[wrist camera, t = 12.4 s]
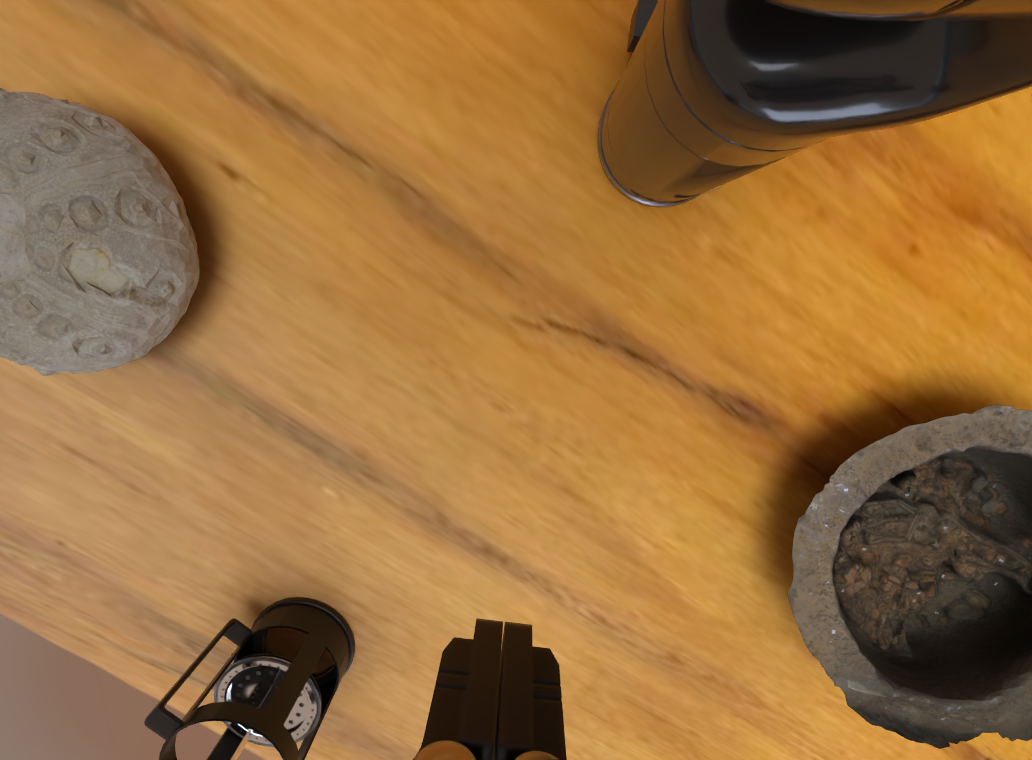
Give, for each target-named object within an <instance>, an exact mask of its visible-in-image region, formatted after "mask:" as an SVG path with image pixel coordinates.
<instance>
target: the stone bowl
mask: <svg viewBox="0 0 1032 760" xmlns="http://www.w3.org/2000/svg"><path fill="white" fill-rule="evenodd" d="M792 560H793V565H794V574H793V582H792V585H791V587H790V589H789V591H788V593H787V595H788V598H789V602H790V605H791V608H792V611H793V614H794V617H795V620H796V622H797V624H798V627H799V630H800V632H801V634H802V637H803V640H804V642H805V644H806V646H807V648H808V649H809V651H810V653H811V654H812V655H813V656H814V657H815V658H816V659H817V660H819V661H820V663H821V665H822V667H823V668H824V670H825V671H826V673H827V675H828V676H829V677H830V678H831V679H832V680H833V681H834V685H835V686H838V687H840V688H841V689H842V691H843V692H844V694H845V697H846V701H847V705H848V706H849V707H850V708H852V709H853V710H854V711H855V712H857V713H858V714H859V715H860V716H862V717H863V718H864V719H865V720H866V721H867V722H869V723H870V724H872V725H876V726H881V727H883V728H884V729H886V730H889V731H893V732H896V733H898V734H899V735H901V736H903V737H904V738H906V739H908V740H911V741H915V742H918V743H927V744H930V745H932V746H934V747H937V748H939V749H941V748H945V747H949V746H950V745H949V742H950V743H955V744H958V743H959V742H960V741H969V740H971V739H973V738H975V737H978V736H979V735H980V734H981V733H996V732H998V733H999V734H1000V735H1001V737H1002V738H1005V737H1007V738H1009V739H1010V740H1011V741H1014V740H1016V739H1020V740H1025V741H1028V740H1030V739H1032V411H1031V410H1016V409H1015V408H1013V407H1011V406H1007V407H1006V406H1003V405H991V406H986V407H984V408H983V409H978V410H977V411H976V412H974V413H973V414H967V413H962V414H959V415H956V416H949V417H942V418H939V419H936V420H933V421H930V422H928V423H922V424H918V425H910V426H908V427H905V428H903V429H901V430H900V431H898V432H897V433H895V434H891V435H888V436H886V437H884V438H882V439H880V440H878V441H876V442H874V443H872V444H870V445H868V446H867V447H865V448H863V449H861V450H859V451H858V452H856V453H854V454H853V455H852V456H851V457H850V458H849V459H847V460H846V461H845V462H844V463H842V464H841V465H840V466H839V468H838V469H837V471H836V472H835V473H834V474H833V475H832V476H831V477H830V483H828V484H825V486H824V489H823V491H821V492H820V493H818V494H816V495H815V497H814V498H813V500H812V503H811V505H810V506H809V507H808V509H807V510H806V512H805V514H804V515H803V516H801V517H800V518H798V523H797V526H796V529H795V532H794V540H793V551H792Z"/></svg>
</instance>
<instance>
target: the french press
mask: <svg viewBox="0 0 1032 760" xmlns="http://www.w3.org/2000/svg"><path fill="white" fill-rule="evenodd" d="M278 627H280V628H291V629H295V630H299V631H301V632H304V633H306V634H309V635H308V636H307V638H306V640H305V641H304V643H303V645H302V646H301V648H300V650H299V651H298V653H297V655H296V656H295V658H294V660H292V659H290V658H287V657H284V656H280V655H276V654H267V652H266V649H265V643H264V639H265V633H266V631H267V629H269V628H278ZM222 636H225V637H227V638H228V639H230V640H231V641H232V642H234V643H235V644H236V645H238V648H237V649H236V650H235V652H234V653H233V654H232V655H231V657H230V658H229V659H228V661H227V662H226V663H225V665H224V666H223V667H222V668H221V670H220V671H219V672H218V674H217V675H216V676H215V678H214V679H213V680H212V681H211V683H210V684H209V685H208V687H207V688H206V689H205V690H204V692H203V693H202V694H201V696H200V697H199V698H198V700H197V701H196V702H195V703H194V705H193V706H192V707H191V709H190V710H189V711H188V713H187V714H186V715H185V716H184V718H183V719H182V720H181V719H179V718H178V717H176V716H175V715H174V714H172V713H171V712H169V711H168V710H166V709H165V707H164V706H165V705H166V703H167V702H168V701H169V700H170V699H171V697H172V696H173V695H174V694H175V693H176V691H177V690H178V689H179V688H180V687H181V685H182V684H183V683H184V682H185V681H186V679H187V678H188V677H189V676H190V675H191V673H192V672H193V671H194V670H195V669H196V667H197V666H198V665H199V664H200V663H201V661H202V660H203V659H204V658H205V657H206V655H207V654H208V653H209V652H210V651H211V649H212V648H213V647H214V646H215V645H216V643H217V642H218V641H219V640H220V639H221V637H222ZM325 648H326V649H327V650H328V652H329V653H330V654H331V656H332V658H333V660H334V662H335V665H334V666H333V667H332V668H331V669H330V670H329V671H328V672H326V673H324V674H322V675H319V676H316V677H313V676H312V674H311V673H312V671H313V669H314V667H315V666H316V664H317V662H318V660H319V658H320V656H321V654H322V653H323V651H324V649H325ZM354 652H355V643H354V638H353V634H352V632H351V630H350V628H349V625H348V624H347V623H346V621H345V620H344V619H343V617H342V616H341V615H339V614H338V613H337V612H336V611H335V610H334V609H332V608H330V607H329V606H327V605H325V604H323V603H321V602H318V601H316V600H311V599H307V598H289V599H284V600H281V601H278V602H276V603H274V604H272V605H270V606H268V607H267V608H266V609H265V610H264V611H263V612H261V614H260V615H259V616H258V618H257V619H256V620H255V622H254V624H253V626H252V629H251V630H250V629H249V628H248V627H246V626H245V625H244V624H242V623H241V622H240V621H238V620H237V619H232V620H230V621H229V622H228V623H227V624H226V625H225V626H224V628H223V629H222V630H221V631H220V632H219V633H218V634H217V635H216V636H215V638H214V639H213V640H212V641H211V642H210V644H209V645H208V646H207V647H206V648H205V649H204V651H203V652H202V653H201V654H200V655H199V656H198V658H197V659H196V660H195V661H194V662H193V663H192V665H191V666H190V667H189V668H188V669H187V671H186V672H185V673H184V674H183V675H182V676H181V678H180V679H179V680H178V681H177V682H176V683H175V685H174V686H173V687H172V688H171V689H170V690H169V692H168V693H167V694H166V695H165V696H164V697H163V699H162V700H161V701H160V702H159V703H158V705H157V706H156V707H155V708H154V709H153V710H152V712H151V713H150V714H149V715H148V716H147V718H146V720H145V725H146V726H147V727H148V728H149V729H151V730H152V731H154V732H155V733H156V734H158V735H159V736H161V737H162V738H164V739H165V740H166V742H165V743H164V744H163V747H162V750H161V752H160V757H159V760H177V758H176V752H175V740H176V735H177V733H178V732H179V731H180V730H182V729H183V728H186V727H187V726H189V725H192V724H196V723H199V722H205V721H223V722H224V723H225V724H226V726H227V727H228V728H227V729H226V731H225V732H224V734H223V735H222V737H221V739H220V740H219V741H218V743H217V745H216V746H215V748H214V749H213V751H212V752H211V754H210V755H209V757H208V758H207V760H237V758H238V756H239V755H240V753H241V751H242V749H243V748H244V746H245V744H246V743H247V741H249V742H252V743H254V744H258V745H262V746H270V747H275V748H276V749H277V750H278V752H279V753H280V755H281V756H282V758H283V760H305V757H306V755H307V753H308V751H309V749H310V746H311V744H312V742H313V740H314V738H315V735H316V733H317V731H318V729H319V727H320V724H321V722H322V720H323V718H324V716H325V714H326V711H327V709H328V707H329V705H330V703H331V700H332V698H333V696H334V694H335V692H336V690H337V688H338V685H339V683H340V681H341V679H342V677H343V676H344V675H345V673H346V672H347V671H348V669H349V667H350V665H351V663H352V661H353V657H354ZM233 660H234V663H233V664H231V663H232V661H233ZM230 664H231V665H230ZM229 665H230V666H229ZM228 666H229V667H228ZM216 682H217V683H216ZM215 684H216V686H215V691H214V700H215V703H210V704H207V705H203V706H201V707H199V708H198V706H199V705H200V704H201V702H202V701H203V700H204V698H205V697H206V696H207V694H208V693H209V692H210V690H211V689H212V688H213V686H214V685H215ZM303 739H304V741H303V743H302V745H301V747H300V749H299V751H298V748H297V745H296V743H297V742H299V741H301V740H303Z"/></svg>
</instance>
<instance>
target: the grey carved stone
mask: <svg viewBox="0 0 1032 760" xmlns="http://www.w3.org/2000/svg"><path fill="white" fill-rule="evenodd" d="M197 249H198V246H197V243H196V239H195V235H194V232H193V230H192V227H191V224H190V221H189V219H188V217H187V214H186V209H185V206H184V203H183V199H182V198H181V196H180V195H179V194H178V192H177V190H176V187H175V185H174V184H173V182H172V180H171V179H170V177H169V175H168V174H167V172H166V171H165V169H164V168H163V166H162V165H161V163H160V162H159V160H158V159H157V157H156V155H155V154H154V153H153V152H152V151H151V150H150V149H149V148H147V147H146V146H145V145H144V144H143V143H142V142H141V141H140V140H139V139H138V138H137V137H136V136H135V135H134V134H133V133H132V132H131V131H130V130H128V129H127V128H126V127H124V126H123V125H122V124H121V123H120V122H119V121H117V120H115V119H114V118H112V117H110V116H106V115H102V114H100V113H98V112H96V111H94V110H92V109H91V108H88V107H86V106H84V105H81V104H79V103H71V102H69V101H67V100H58V99H52V98H50V97H48V96H46V95H42V94H39V93H29V92H7V91H5V90H4V89H2V88H0V357H3V358H5V359H8V360H10V361H13V362H15V363H17V364H20V365H26V366H31V367H33V368H34V369H35V370H36V371H37V372H39V373H40V374H42V375H43V376H47V375H54V374H58V373H61V372H68V373H81V372H84V373H92V372H98V371H101V370H104V369H107V368H116V367H119V366H121V365H123V364H125V363H127V362H130V361H133V360H135V359H138V358H141V357H143V356H145V355H146V354H147V353H149V351H150V350H151V349H152V347H154V346H156V345H158V344H159V343H161V342H162V341H163V340H164V339H165V338H166V337H167V336H168V335H169V334H170V332H171V331H172V330H173V329H174V327H175V326H176V325H177V324H178V322H179V320H180V319H181V317H182V316H183V315H184V314H185V313H186V311H187V308H188V305H189V303H190V300H191V297H192V295H193V294H194V291H195V289H196V287H197V284H198V281H199V272H200V269H199V258H198V254H197Z"/></svg>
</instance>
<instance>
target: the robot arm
mask: <svg viewBox="0 0 1032 760" xmlns="http://www.w3.org/2000/svg"><path fill="white" fill-rule="evenodd" d="M627 52H633V54H632V56H631V58H630V60H629V62H628V64H627V66H626V68H625V70H624V72H623V74H622V76H621V78H620V80H619V82H618V84H617V86H616V88H615V90H614V91H613V92H612V94H611V96H610V97H609V99H608V101H607V103H606V105H605V107H604V110H603V112H602V115H601V119H600V123H599V128H598V151H599V157H600V160H601V164H602V166H603V169H604V171H605V173H606V175H607V177H608V178H609V180H610V181H611V183H612V184H613V185H614V186H615V187H616V188H617V190H618V191H620V192H621V193H622V194H623V195H624V196H626V197H627V198H629V199H631V200H633V201H635V202H637V203H639V204H643V205H646V206H652V207H669V206H675V205H679V204H681V203H684V202H687V201H689V200H691V199H693V198H695V197H698V196H699V195H700V194H702V193H704V192H707V191H709V190H711V189H714V188H716V187H718V186H721V185H723V184H725V183H727V182H730V181H732V180H734V179H737V178H739V177H741V176H744V175H746V174H748V173H751V172H753V171H755V170H757V169H760V168H762V167H764V166H767V165H769V164H771V163H774V162H776V161H778V160H781V159H783V158H785V157H787V156H789V155H792V154H794V153H796V152H798V151H801V150H803V149H805V148H808V147H810V146H812V145H815V144H817V143H819V142H822V141H823V140H826V139H828V138H831V137H835V136H840V135H847V134H854V133H862V132H869V131H876V130H882V129H888V128H894V127H899V126H904V125H909V124H913V123H917V122H921V121H925V120H929V119H932V118H936V117H939V116H942V115H946V114H949V113H952V112H955V111H958V110H961V109H965V108H968V107H971V106H974V105H977V104H980V103H983V102H986V101H989V100H992V99H995V98H998V97H1001V96H1005V95H1008V94H1011V93H1014V92H1017V91H1020V90H1023V89H1026V88H1029V87H1032V0H639V1H638V3H637V6H636V8H635V11H634V13H633V15H632V20H631V26H630V33H629V40H628V47H627ZM718 189H719V188H718ZM715 190H716V189H715ZM713 191H714V190H713ZM710 192H711V191H710ZM708 193H709V192H708ZM705 194H706V193H705ZM702 195H703V194H702ZM700 196H701V195H700ZM502 630H503V622H502V621H494V620H485V619H476V626H475V633H474V639H473V640H472V639H463V638H455V637H454V638H453V639H452V641H451V642H450V643H449V644H448V646H447V647H446V648H445V649H444V651H443V653H442V658H441V662H440V667H439V672H438V676H437V680H436V685H435V689H434V694H433V698H432V703H431V707H430V712H429V716H428V721H427V725H426V730H425V734H424V739H423V742H422V746H421V748H420V750H419V752H418V753H417V755H416V756H415V758H414V759H413V760H567V759H566V748H565V735H564V723H563V710H562V701H561V698H562V697H561V686H560V672H559V664H558V662H557V661H556V659H555V657H554V655H553V653H552V652H551V650H550V649H549V648H541V647H532V625H528V624H520V623H512V622H505V626H504V633H503V641H502ZM501 644H502V649H501Z"/></svg>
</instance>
